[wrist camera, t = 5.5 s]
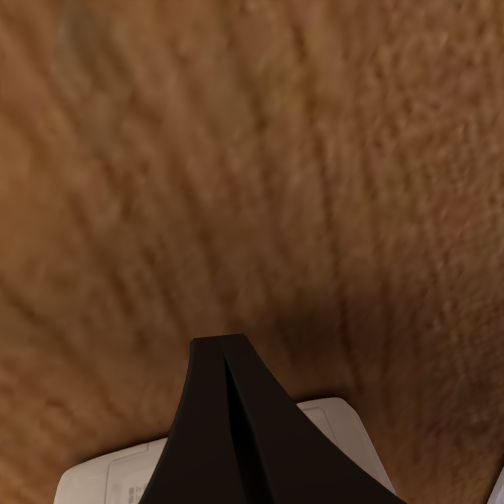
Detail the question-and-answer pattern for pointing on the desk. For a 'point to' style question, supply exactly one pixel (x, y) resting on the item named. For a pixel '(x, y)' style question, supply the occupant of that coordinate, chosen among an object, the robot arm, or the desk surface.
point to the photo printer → (147, 455)
